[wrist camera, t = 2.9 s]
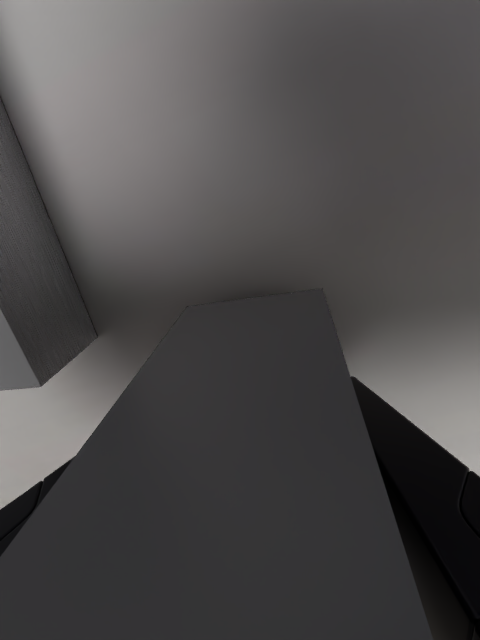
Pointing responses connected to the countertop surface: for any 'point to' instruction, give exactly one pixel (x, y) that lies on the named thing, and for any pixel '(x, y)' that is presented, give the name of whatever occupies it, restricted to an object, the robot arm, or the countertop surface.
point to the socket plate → (33, 280)
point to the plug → (221, 499)
